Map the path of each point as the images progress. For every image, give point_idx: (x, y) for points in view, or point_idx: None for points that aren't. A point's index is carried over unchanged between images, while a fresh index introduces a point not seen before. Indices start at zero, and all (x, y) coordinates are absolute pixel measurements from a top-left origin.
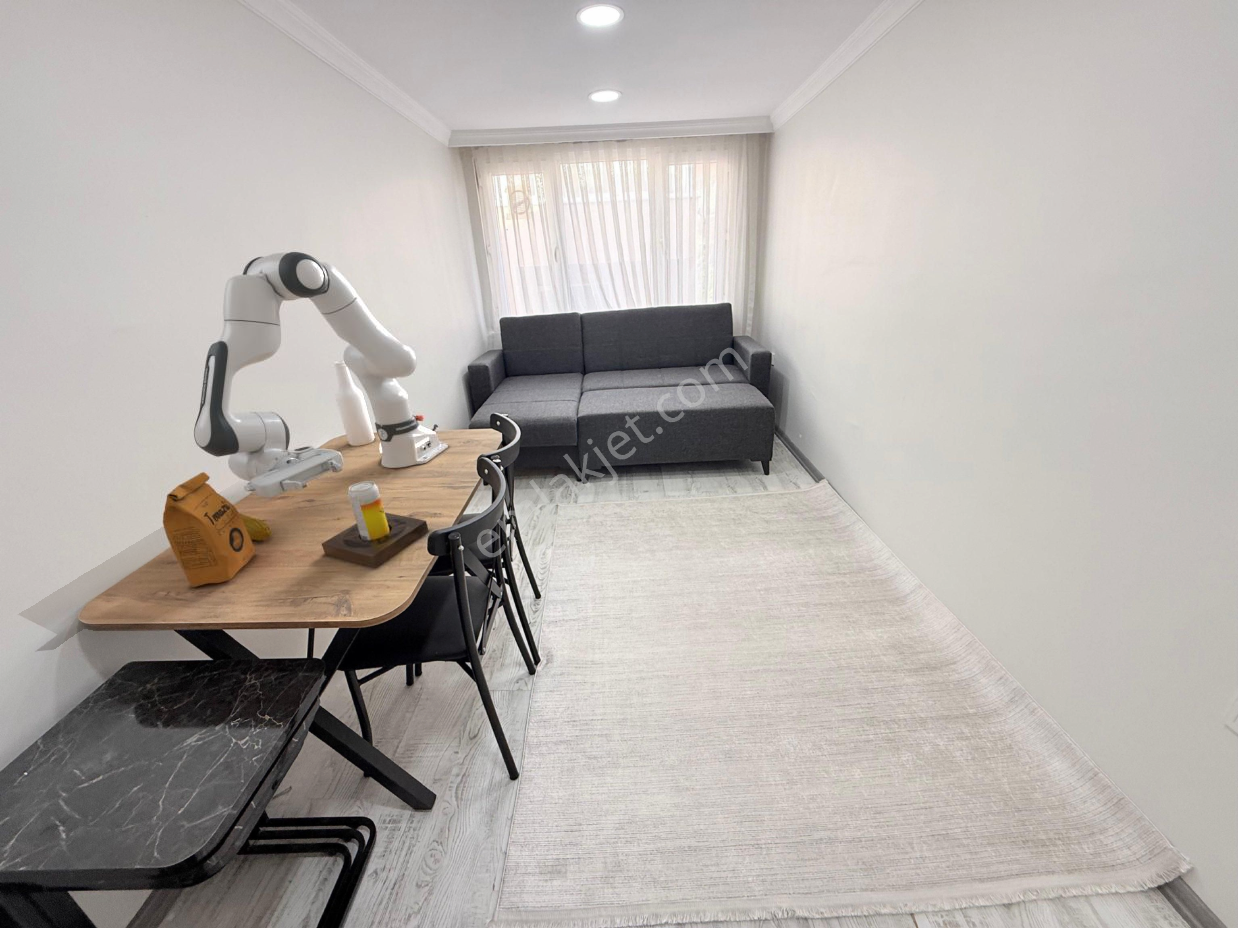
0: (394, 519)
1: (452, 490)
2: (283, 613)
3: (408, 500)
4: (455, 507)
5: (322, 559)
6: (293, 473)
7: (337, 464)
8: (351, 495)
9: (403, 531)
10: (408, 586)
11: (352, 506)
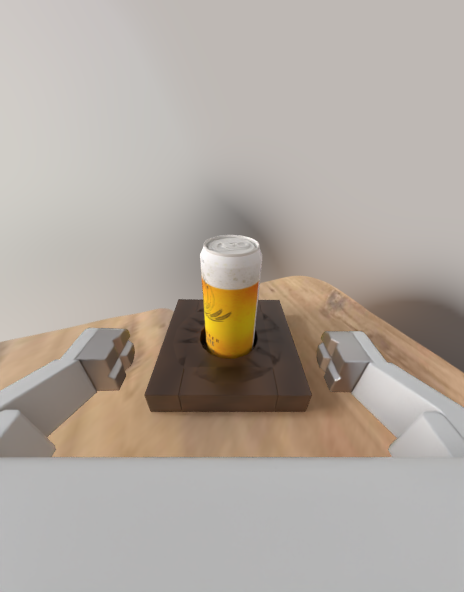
0: (181, 336)
1: (3, 363)
2: (400, 338)
3: None
4: (101, 321)
5: (316, 401)
6: (384, 457)
7: (93, 333)
8: (261, 253)
9: None
10: (278, 280)
11: (259, 283)
